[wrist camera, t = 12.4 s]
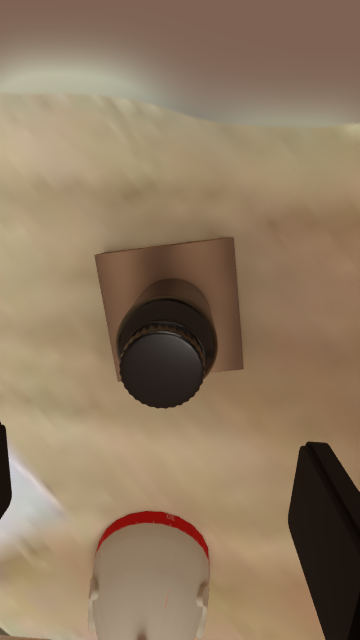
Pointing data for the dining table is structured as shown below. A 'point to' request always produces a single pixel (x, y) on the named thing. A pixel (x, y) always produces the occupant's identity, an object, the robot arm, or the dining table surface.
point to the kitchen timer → (149, 580)
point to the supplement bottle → (166, 343)
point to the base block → (181, 263)
